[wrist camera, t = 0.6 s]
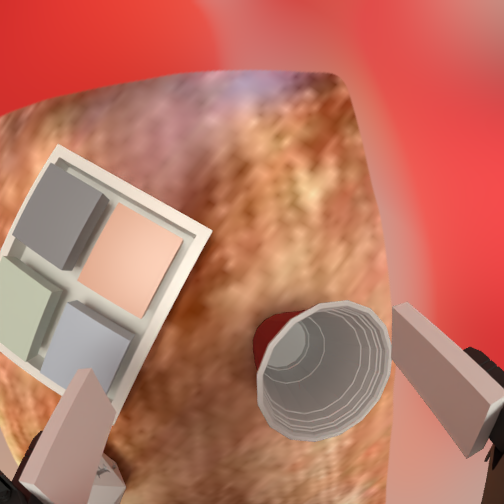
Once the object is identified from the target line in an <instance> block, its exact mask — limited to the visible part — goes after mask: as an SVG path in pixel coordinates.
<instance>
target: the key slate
mask: <svg viewBox="0 0 504 504" xmlns="http://www.w3.org/2000/svg"><path fill="white" fill-rule="evenodd" d="M134 336H135V334H133V333H131V332H129V331H128V330H126V329H124V328H122V327H121V326H119V325H117V324H115V323H114V322H112V321H110V320H109V319H107V318H105V317H104V316H102V315H100V314H99V313H97V312H95V311H94V310H92V309H91V308H89V307H87V306H86V305H84V304H83V303H81V302H80V301H78V300H75V301H71V302H67V304H66V306H65V308H64V311H63V313H62V315H61V318H60V320H59V323H58V325H57V327H56V330H55V332H54V335H53V338H52V340H51V343H50V345H49V348H48V351H47V353H46V356H45V359H44V362H43V365H42V367H41V370H40V373H41V374H43V375H44V376H46V377H47V378H49V379H50V380H52V381H53V382H55V383H56V384H58V385H59V386H61V387H62V388H64V389H67V387H68V385H69V384H70V382H71V380H72V379H73V377H74V375H75V374H76V372H77V370H78V369H85V368H92V370H93V372H94V373H95V375H96V377H97V379H98V381H99V383H100V385H101V386H102V388H103V390H104V392H105V394H106V395H107V394H108V392H109V389H110V387H111V385H112V383H113V381H114V378H115V376H116V374H117V372H118V370H119V368H120V365H121V363H122V361H123V359H124V357H125V355H126V353H127V351H128V348H129V346H130V344H131V342H132V340H133V338H134Z"/></svg>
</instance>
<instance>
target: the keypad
mask: <svg viewBox="0 0 504 504" xmlns="http://www.w3.org/2000/svg"><path fill="white" fill-rule="evenodd" d="M50 163H53V164H54V165H56V166H58V167H59V168H61V169H63V170H64V171H66V172H68V173H70V174H71V175H73V176H75V177H76V178H78V179H80V180H81V181H83V182H85V183H86V184H88V185H90V186H92V187H93V188H95V189H97V190H98V191H100V192H102V193H103V194H104V195H105V196H106V197H107V198H108V199H109V200H110V201H109V202H108V204H107V206H106V207H105V209H104V211H103V213H102V214H101V216H100V218H99V220H98V222H97V223H96V225H95V227H94V229H93V231H92V233H91V234H90V236H89V238H88V240H87V242H86V244H85V246H84V248H83V250H82V252H81V254H80V256H79V258H78V260H77V262H76V264H75V266H74V268H73V270H72V271H64V270H60V269H59V268H57V267H56V266H54V265H53V264H51V263H50V262H49V261H47V260H46V259H44V258H43V257H41V256H40V255H39V254H37V253H36V252H34V251H33V250H32V249H30V248H29V247H27V246H26V245H25V244H23V243H22V242H21V241H19V240H18V239H17V238H15V237H14V236H13V235H12V233H13V231H14V229H15V227H16V225H17V223H18V221H19V219H20V217H21V215H22V213H23V211H24V209H25V207H26V205H27V203H28V201H29V199H30V197H31V195H32V194H33V192H34V190H35V188H36V186H37V185H38V183H39V181H40V179H41V178H42V176H43V174H44V173H45V171H46V169H47V168H48V166H49V164H50ZM118 202H119V203H121V204H123V205H124V206H126V207H128V208H130V209H131V210H133V211H135V212H137V213H138V214H140V215H142V216H144V217H145V218H147V219H149V220H151V221H152V222H154V223H156V224H158V225H159V226H161V227H163V228H165V229H166V230H168V231H170V232H172V233H174V234H175V235H177V236H179V237H181V238H182V239H183V244H182V246H181V247H180V249H179V251H178V253H177V255H176V257H175V258H174V260H173V262H172V264H171V266H170V268H169V270H168V271H167V273H166V275H165V277H164V279H163V281H162V283H161V285H160V287H159V288H158V290H157V292H156V294H155V296H154V298H153V300H152V302H151V304H150V306H149V308H148V310H147V312H146V314H145V315H144V316H143V318H142V319H140V318H138V317H137V316H135V315H133V314H131V313H129V312H128V311H126V310H124V309H123V308H121V307H119V306H117V305H116V304H114V303H112V302H111V301H109V300H107V299H106V298H104V297H102V296H101V295H99V294H98V293H96V292H94V291H93V290H91V289H90V288H88V287H86V286H85V285H83V284H82V283H80V282H79V281H77V280H78V278H79V275H80V273H81V271H82V269H83V267H84V265H85V263H86V261H87V259H88V257H89V255H90V253H91V251H92V249H93V247H94V246H95V244H96V242H97V240H98V238H99V236H100V234H101V232H102V231H103V229H104V227H105V225H106V223H107V222H108V220H109V218H110V216H111V214H112V213H113V211H114V209H115V208H116V206H117V204H118ZM211 233H212V230H211V229H209V228H207V227H205V226H204V225H202V224H200V223H198V222H196V221H195V220H193V219H191V218H189V217H187V216H186V215H184V214H182V213H180V212H179V211H177V210H175V209H173V208H171V207H170V206H168V205H166V204H164V203H163V202H161V201H159V200H157V199H155V198H154V197H152V196H150V195H148V194H146V193H145V192H143V191H141V190H139V189H138V188H136V187H134V186H132V185H130V184H129V183H127V182H125V181H123V180H122V179H120V178H118V177H116V176H114V175H113V174H111V173H109V172H107V171H105V170H104V169H102V168H100V167H98V166H97V165H95V164H93V163H91V162H89V161H88V160H86V159H84V158H82V157H81V156H79V155H77V154H75V153H73V152H72V151H70V150H68V149H66V148H65V147H63V146H61V145H59V144H58V145H57V146H56V148H55V149H54V151H53V152H52V154H51V155H50V157H49V159H48V160H47V162H46V163H45V165H44V167H43V168H42V170H41V172H40V173H39V175H38V177H37V178H36V180H35V182H34V184H33V185H32V187H31V189H30V191H29V193H28V195H27V196H26V198H25V200H24V202H23V204H22V206H21V208H20V210H19V212H18V214H17V216H16V218H15V220H14V222H13V224H12V226H11V228H10V230H9V233H8V235H7V237H6V239H5V242H4V244H3V246H2V249H1V251H0V261H1V259H2V256H11V257H17V258H18V259H19V260H21V261H22V262H23V263H25V264H26V265H27V266H29V267H30V268H31V269H33V270H34V271H36V272H37V273H38V274H40V275H41V276H43V277H44V278H45V279H47V280H48V281H50V282H51V283H53V284H54V285H55V286H57V287H58V288H60V289H61V290H63V292H62V294H61V296H60V298H59V301H58V303H57V305H56V308H55V310H54V313H53V315H52V317H51V320H50V322H49V325H48V327H47V330H46V333H45V335H44V338H43V341H42V343H41V346H40V349H39V352H38V354H37V356H35V357H33V358H32V359H30V360H28V361H27V362H25V361H23V360H22V359H21V358H19V357H18V356H17V355H15V354H14V353H13V352H12V351H10V350H9V349H8V348H7V347H5V346H4V345H3V344H2V343H0V352H2V353H3V354H4V355H5V356H7V357H8V358H9V359H10V360H12V361H13V362H14V363H15V364H17V365H18V366H19V367H21V368H22V369H23V370H25V371H26V372H28V373H29V374H30V375H32V376H33V377H34V378H36V379H37V380H39V381H40V382H42V383H43V384H45V385H46V386H47V387H49V388H50V389H52V390H54V391H55V392H57V393H58V394H60V395H61V396H63V394H64V392H65V391H66V389H64V388H62V387H61V386H59V385H58V384H56V383H55V382H53V381H52V380H50V379H49V378H47V377H46V376H44V375H43V374H41V373H40V370H41V367H42V365H43V362H44V359H45V356H46V353H47V351H48V348H49V345H50V343H51V340H52V338H53V335H54V332H55V330H56V327H57V325H58V323H59V320H60V318H61V315H62V313H63V311H64V308H65V306H66V304H67V302H71V301H75V300H78V301H80V302H81V303H83V304H84V305H86V306H87V307H89V308H91V309H92V310H94V311H95V312H97V313H99V314H100V315H102V316H104V317H105V318H107V319H109V320H110V321H112V322H114V323H115V324H117V325H119V326H121V327H122V328H124V329H126V330H128V331H129V332H131V333H133V334H135V336H134V338H133V340H132V342H131V344H130V346H129V348H128V351H127V353H126V355H125V357H124V359H123V361H122V363H121V365H120V368H119V370H118V372H117V374H116V376H115V378H114V381H113V383H112V385H111V387H110V389H109V392H108V394H107V397H108V399H109V401H110V402H111V404H112V406H113V407H114V409H115V411H116V415H115V418H114V421H113V424H112V425H114V424H115V422H116V419H117V417H118V415H119V413H120V411H121V409H122V407H123V404H124V402H125V400H126V398H127V396H128V394H129V392H130V390H131V387H132V385H133V383H134V381H135V379H136V377H137V375H138V373H139V371H140V369H141V367H142V365H143V363H144V361H145V359H146V357H147V355H148V353H149V351H150V349H151V347H152V345H153V343H154V341H155V339H156V337H157V335H158V333H159V331H160V329H161V327H162V325H163V323H164V321H165V319H166V317H167V315H168V313H169V311H170V309H171V307H172V305H173V303H174V302H175V300H176V298H177V296H178V294H179V292H180V290H181V288H182V286H183V284H184V283H185V281H186V279H187V277H188V275H189V273H190V271H191V269H192V268H193V266H194V264H195V262H196V260H197V258H198V256H199V255H200V253H201V251H202V249H203V247H204V245H205V244H206V242H207V240H208V238H209V236H210V235H211Z"/></svg>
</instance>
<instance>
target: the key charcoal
mask: <svg viewBox="0 0 504 504" xmlns="http://www.w3.org/2000/svg"><path fill="white" fill-rule="evenodd" d="M109 201H110V200H109V199H108V198H107V197H106V196H105V195H104V194H103V193H102V192H100V191H98V190H97V189H95V188H93V187H92V186H90V185H88V184H86V183H85V182H83V181H81V180H80V179H78V178H76V177H75V176H73V175H71V174H70V173H68V172H66V171H64V170H63V169H61V168H59V167H58V166H56V165H54V164H53V163H50V164H49V166H48V168H47V169H46V171H45V173H44V174H43V176H42V178H41V179H40V181H39V183H38V185H37V186H36V188H35V190H34V192H33V194H32V195H31V197H30V199H29V201H28V203H27V205H26V207H25V209H24V211H23V213H22V215H21V217H20V219H19V221H18V223H17V225H16V227H15V229H14V231H13V233H12V235H13V236H14V237H15V238H17V239H18V240H19V241H21V242H22V243H23V244H25V245H26V246H27V247H29V248H30V249H32V250H33V251H34V252H36V253H37V254H39V255H40V256H41V257H43V258H44V259H46V260H47V261H49V262H50V263H51V264H53V265H54V266H56V267H57V268H59V269H60V270H64V271H72V270H73V268H74V266H75V264H76V262H77V260H78V258H79V256H80V254H81V252H82V250H83V248H84V246H85V244H86V242H87V240H88V238H89V236H90V234H91V233H92V231H93V229H94V227H95V225H96V223H97V222H98V220H99V218H100V216H101V214H102V213H103V211H104V209H105V207H106V206H107V204H108V202H109Z"/></svg>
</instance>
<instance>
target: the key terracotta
mask: <svg viewBox="0 0 504 504" xmlns="http://www.w3.org/2000/svg"><path fill="white" fill-rule="evenodd" d="M182 244H183V239H182V238H181V237H179V236H177V235H175V234H174V233H172V232H170V231H168V230H166V229H165V228H163V227H161V226H159V225H158V224H156V223H154V222H152V221H151V220H149V219H147V218H145V217H144V216H142V215H140V214H138V213H137V212H135V211H133V210H131V209H130V208H128V207H126V206H124V205H123V204H121V203H119V202H118V204H117V206H116V208H115V209H114V211H113V213H112V214H111V216H110V218H109V220H108V222H107V223H106V225H105V227H104V229H103V231H102V232H101V234H100V236H99V238H98V240H97V242H96V244H95V246H94V247H93V249H92V251H91V253H90V255H89V257H88V259H87V261H86V263H85V265H84V267H83V269H82V271H81V273H80V275H79V278H78V280H77V281H79V282H80V283H82V284H83V285H85V286H86V287H88V288H90V289H91V290H93V291H94V292H96V293H98V294H99V295H101V296H102V297H104V298H106V299H107V300H109V301H111V302H112V303H114V304H116V305H117V306H119V307H121V308H123V309H124V310H126V311H128V312H129V313H131V314H133V315H135V316H137V317H138V318H140V319H142V318H143V316H144V315H145V314H146V312H147V310H148V308H149V306H150V304H151V302H152V300H153V298H154V296H155V294H156V292H157V290H158V288H159V287H160V285H161V283H162V281H163V279H164V277H165V275H166V273H167V271H168V270H169V268H170V266H171V264H172V262H173V260H174V258H175V257H176V255H177V253H178V251H179V249H180V247H181V246H182Z"/></svg>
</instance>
